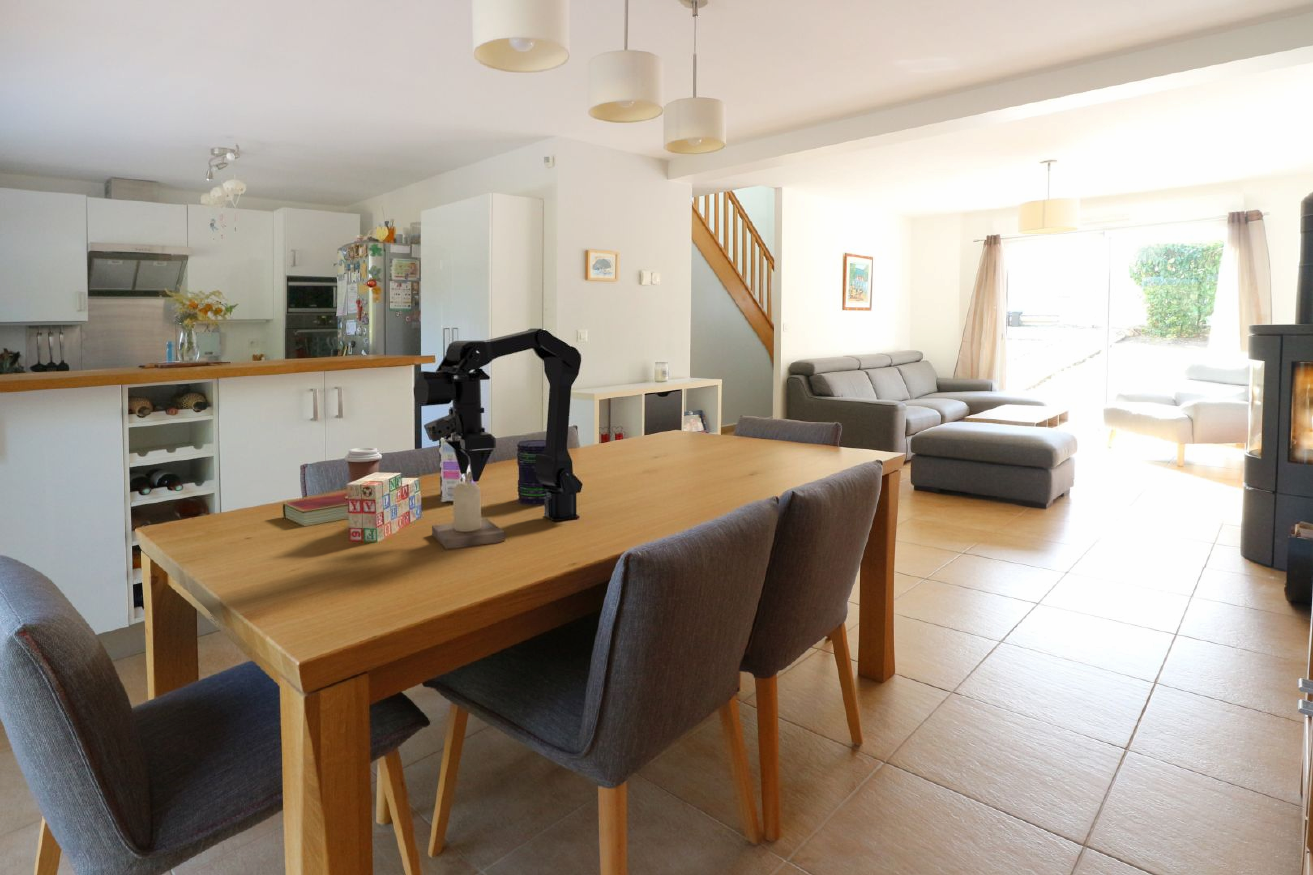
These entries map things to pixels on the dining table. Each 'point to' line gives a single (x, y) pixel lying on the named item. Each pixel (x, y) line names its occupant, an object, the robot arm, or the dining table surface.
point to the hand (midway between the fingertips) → (469, 477)
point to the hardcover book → (317, 509)
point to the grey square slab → (468, 535)
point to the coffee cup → (362, 462)
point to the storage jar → (529, 473)
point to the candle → (467, 507)
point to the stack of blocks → (382, 505)
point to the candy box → (450, 471)
